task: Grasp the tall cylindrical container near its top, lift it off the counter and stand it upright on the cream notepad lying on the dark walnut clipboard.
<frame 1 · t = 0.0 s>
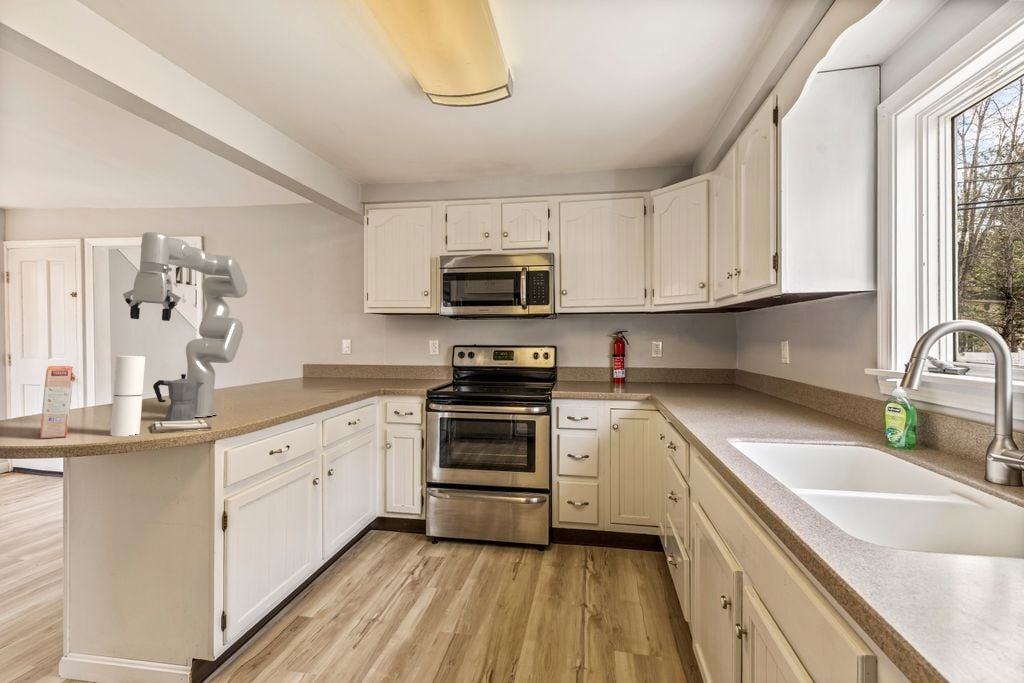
hand: (150, 319, 151), 37 cm above the countertop, tool pointing down, fingers open, 9 cm apart
notepad: (180, 428, 157), on the countertop
cracker box: (54, 435, 137), on the countertop
coffeepot: (176, 422, 169), on the countertop
cylindrical container: (125, 434, 143), on the countertop
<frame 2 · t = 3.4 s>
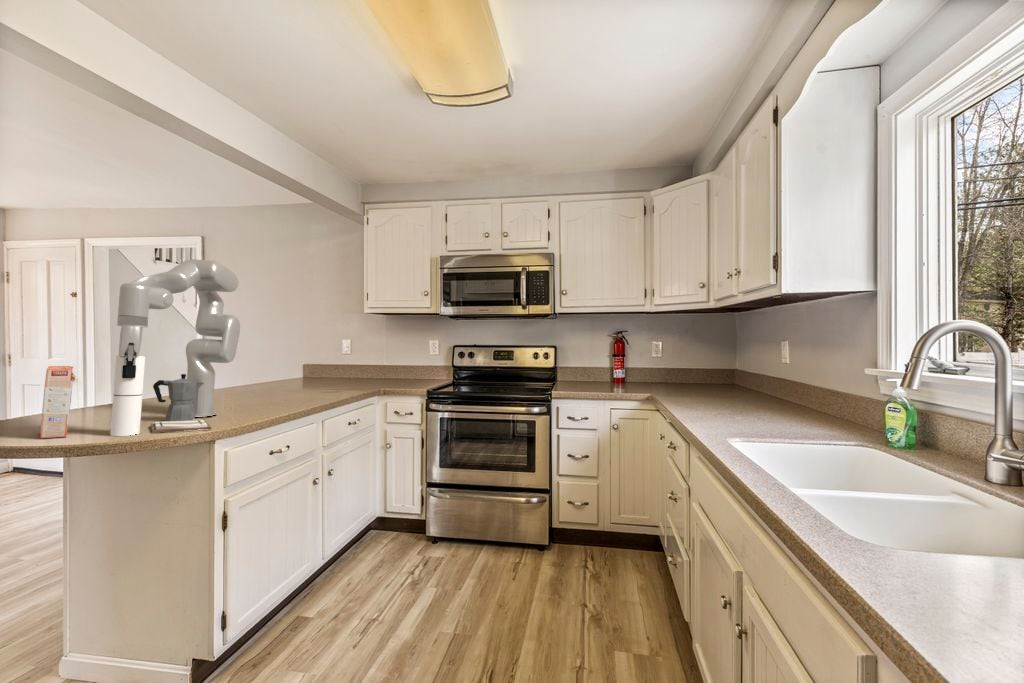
hand: (128, 376, 143), 18 cm above the countertop, tool pointing down, fingers closed on cylindrical container, 7 cm apart
cylindrical container: (125, 434, 143), on the countertop, touching gripper
everything else where it was.
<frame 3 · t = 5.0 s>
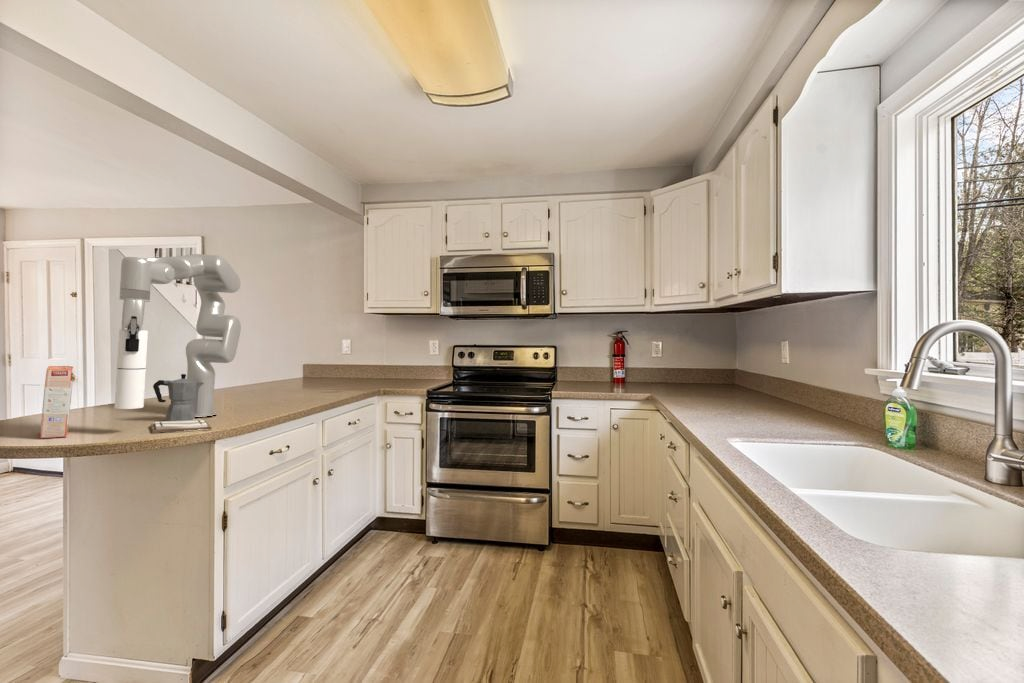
hand: (131, 350, 144), 27 cm above the countertop, tool pointing down, fingers closed on cylindrical container, 7 cm apart
cylindrical container: (129, 407, 144), point 8 cm above the countertop, touching gripper
everything else where it was.
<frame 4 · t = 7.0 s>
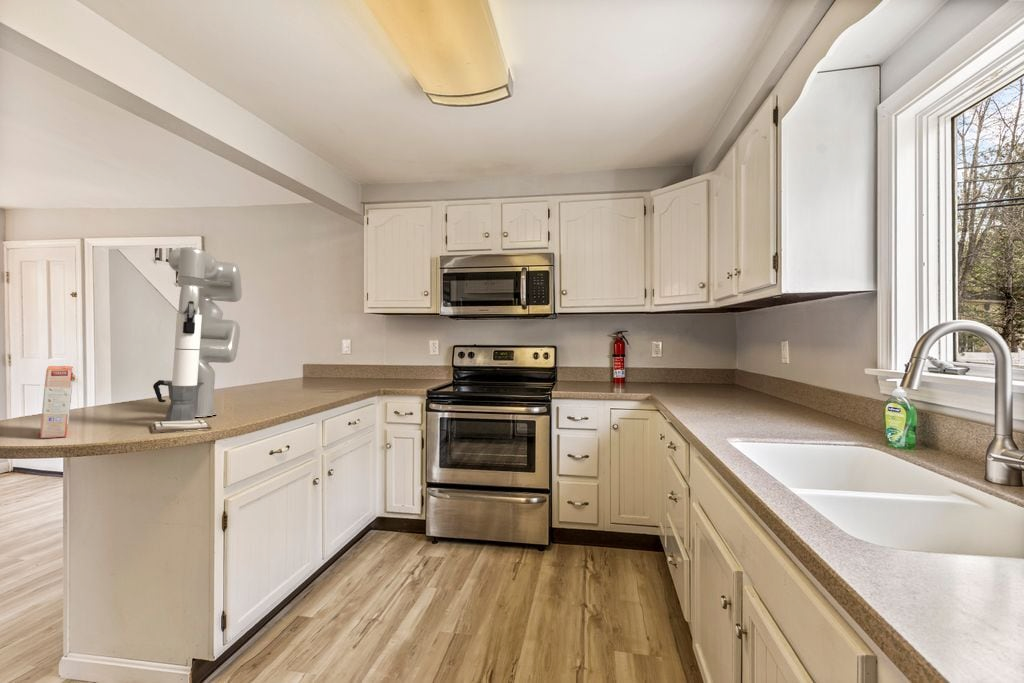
hand: (187, 333, 157), 34 cm above the countertop, tool pointing down, fingers closed on cylindrical container, 7 cm apart
cylindrical container: (184, 385, 157), point 15 cm above the countertop, touching gripper
everything else where it was.
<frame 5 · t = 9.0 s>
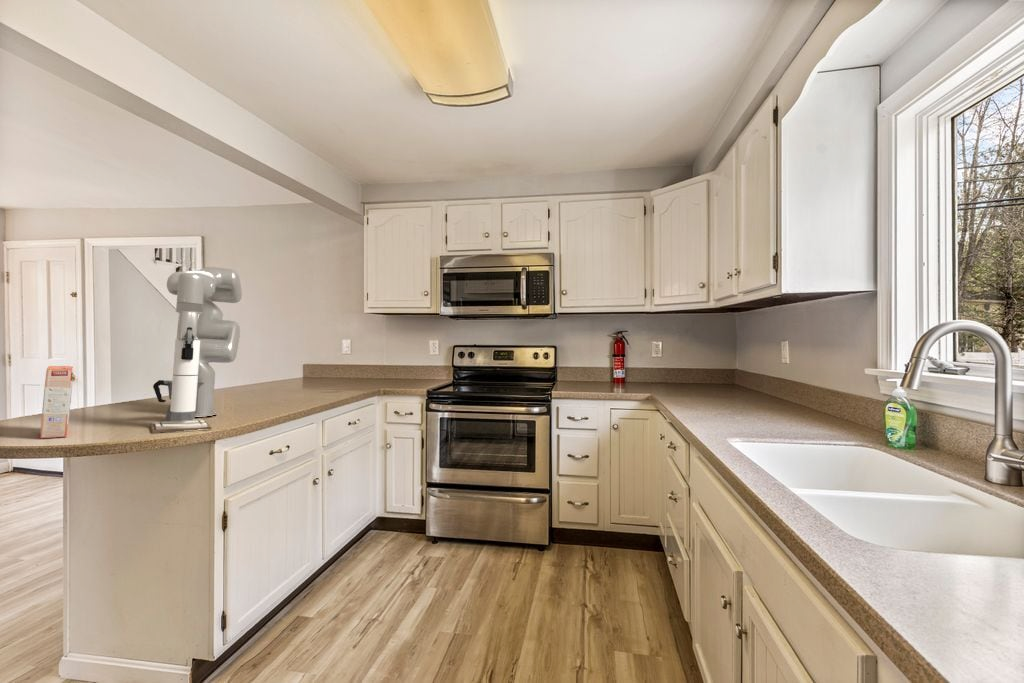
hand: (185, 358, 157), 24 cm above the countertop, tool pointing down, fingers closed on cylindrical container, 7 cm apart
cylindrical container: (182, 411, 157), point 6 cm above the countertop, touching gripper
everything else where it was.
when the fingers open (21 cm above the countertop, at t = 10.9 s): cylindrical container stays where it is, resting on notepad.
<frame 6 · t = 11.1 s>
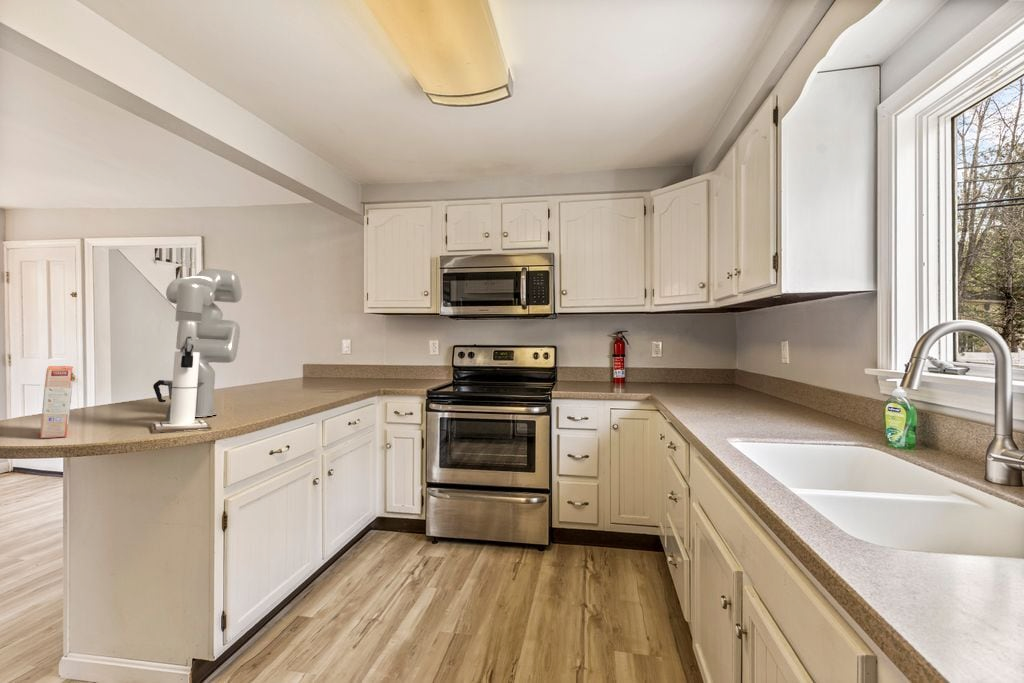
hand: (185, 366, 157), 22 cm above the countertop, tool pointing down, fingers open, 9 cm apart
cylindrical container: (182, 423, 157), point 2 cm above the countertop, touching notepad
everything else where it was.
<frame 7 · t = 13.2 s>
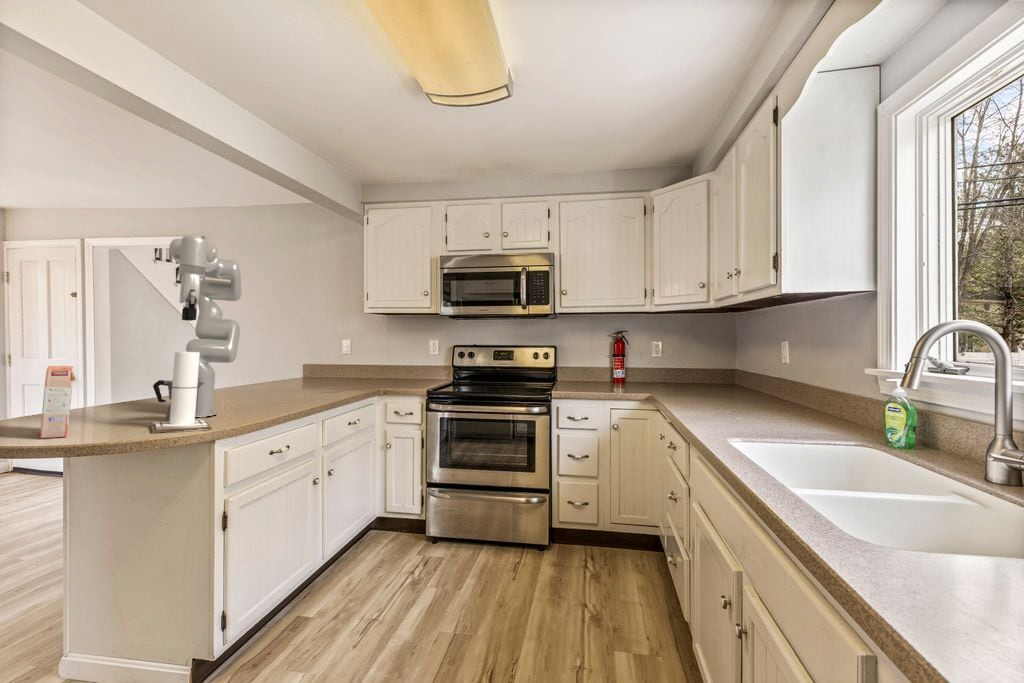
hand: (188, 320, 158), 38 cm above the countertop, tool pointing down, fingers open, 9 cm apart
nothing on the countertop moved.
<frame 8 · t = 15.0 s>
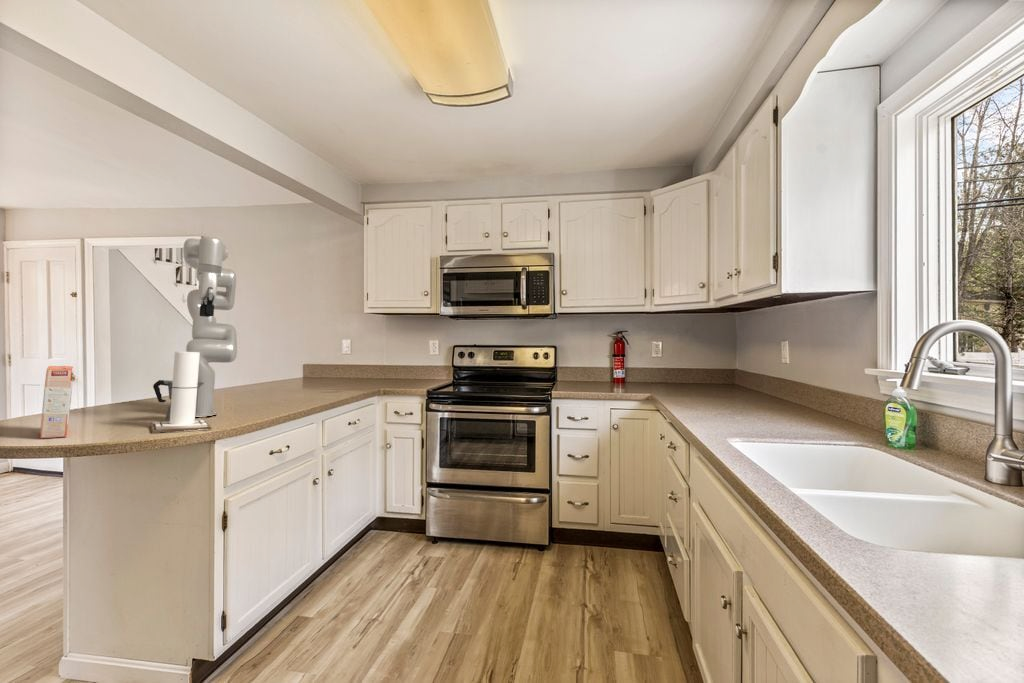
hand: (206, 316, 168), 40 cm above the countertop, tool pointing down, fingers open, 9 cm apart
nothing on the countertop moved.
at the end: cylindrical container inside the target area on the notepad (0.6 cm from its centre), point 1.6 cm above the notepad's base; cylindrical container tilted 0°; the gripper is holding nothing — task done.
